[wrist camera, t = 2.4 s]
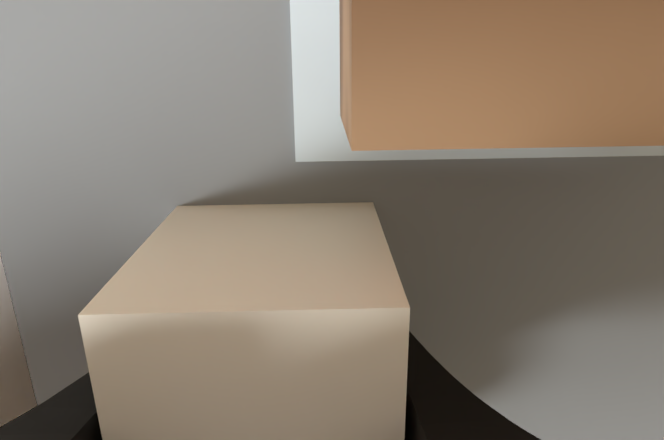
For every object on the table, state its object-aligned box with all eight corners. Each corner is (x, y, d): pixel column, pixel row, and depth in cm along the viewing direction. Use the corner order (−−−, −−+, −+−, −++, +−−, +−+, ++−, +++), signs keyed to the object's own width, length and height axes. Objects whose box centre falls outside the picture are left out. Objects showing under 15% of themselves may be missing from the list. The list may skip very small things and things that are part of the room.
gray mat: (644, 449, 15) (659, 467, 14) (66, 465, 15) (54, 485, 14) (831, -344, 9) (871, -376, 8) (-122, -347, 9) (-158, -379, 8)
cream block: (369, 445, 14) (395, 650, 9) (205, 449, 14) (145, 659, 9) (373, 201, 12) (410, 307, 7) (177, 205, 12) (78, 314, 7)
